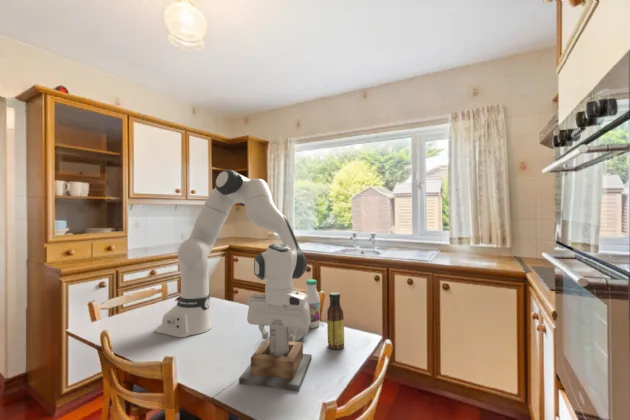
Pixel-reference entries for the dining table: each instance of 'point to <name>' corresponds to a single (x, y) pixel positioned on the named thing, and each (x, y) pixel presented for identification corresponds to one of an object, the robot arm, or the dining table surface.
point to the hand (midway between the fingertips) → (278, 339)
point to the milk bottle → (313, 302)
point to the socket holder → (277, 367)
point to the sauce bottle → (335, 322)
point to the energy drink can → (279, 339)
